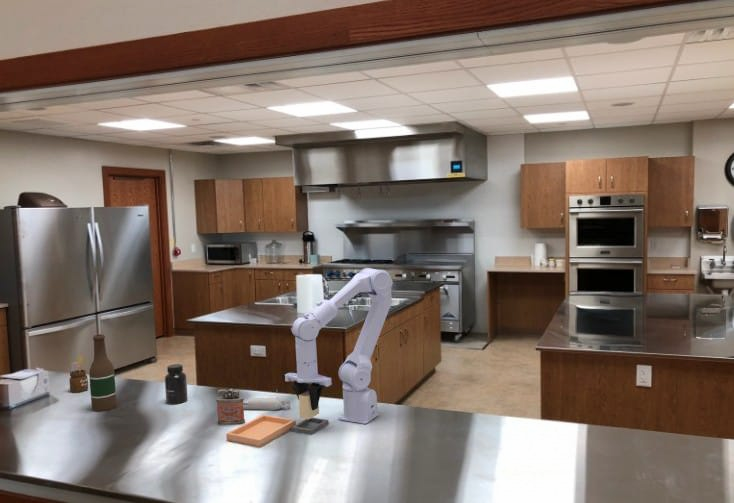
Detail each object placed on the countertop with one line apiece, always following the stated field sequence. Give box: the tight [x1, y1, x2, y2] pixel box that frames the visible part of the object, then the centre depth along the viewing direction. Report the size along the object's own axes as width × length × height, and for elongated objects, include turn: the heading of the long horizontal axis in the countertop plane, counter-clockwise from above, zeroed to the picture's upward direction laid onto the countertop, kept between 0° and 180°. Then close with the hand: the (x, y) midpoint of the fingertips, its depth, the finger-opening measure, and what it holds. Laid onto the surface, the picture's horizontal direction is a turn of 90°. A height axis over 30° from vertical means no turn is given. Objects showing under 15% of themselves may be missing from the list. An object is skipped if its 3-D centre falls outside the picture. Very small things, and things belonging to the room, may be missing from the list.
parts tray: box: [225, 414, 297, 448], centre depth 164 cm, size 12×16×2 cm
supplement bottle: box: [164, 363, 188, 405], centre depth 195 cm, size 7×7×12 cm
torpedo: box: [243, 389, 291, 411], centre depth 184 cm, size 18×5×6 cm, turn 81°
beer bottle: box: [88, 333, 117, 412], centre depth 191 cm, size 8×8×24 cm
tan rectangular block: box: [298, 391, 320, 420], centre depth 166 cm, size 3×5×6 cm, turn 151°
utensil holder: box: [68, 355, 89, 394], centre depth 212 cm, size 6×6×12 cm
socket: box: [291, 417, 329, 436], centre depth 166 cm, size 7×9×1 cm
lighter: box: [215, 388, 246, 426], centre depth 173 cm, size 8×3×10 cm, turn 84°
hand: (309, 408), depth 166 cm, fingers closed on tan rectangular block, 3 cm apart
